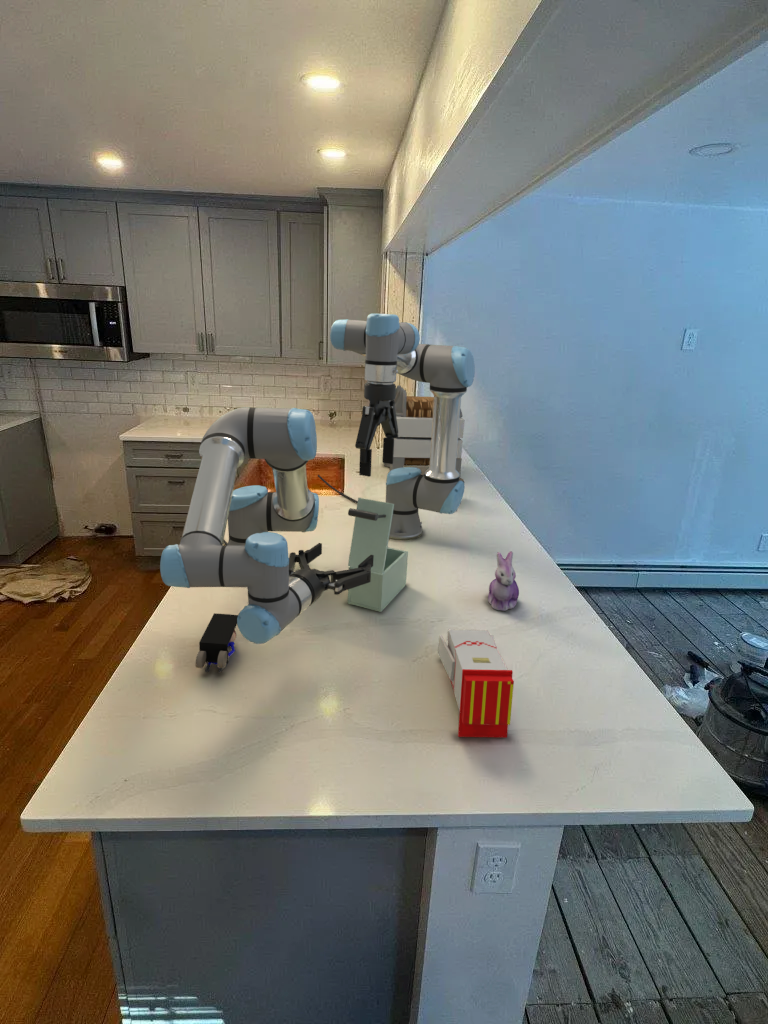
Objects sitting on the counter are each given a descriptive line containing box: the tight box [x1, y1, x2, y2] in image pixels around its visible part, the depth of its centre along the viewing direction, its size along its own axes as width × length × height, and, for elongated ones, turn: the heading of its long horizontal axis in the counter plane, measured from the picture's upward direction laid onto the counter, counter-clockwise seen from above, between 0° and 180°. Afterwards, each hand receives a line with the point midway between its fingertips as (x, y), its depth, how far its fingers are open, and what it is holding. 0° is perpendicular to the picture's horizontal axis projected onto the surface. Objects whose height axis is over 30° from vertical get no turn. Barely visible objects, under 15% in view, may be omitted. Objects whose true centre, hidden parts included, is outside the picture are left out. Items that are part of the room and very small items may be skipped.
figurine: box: [487, 550, 520, 612], centre depth 153 cm, size 9×10×15 cm
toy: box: [437, 628, 515, 738], centre depth 117 cm, size 12×13×30 cm
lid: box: [347, 497, 394, 574], centre depth 142 cm, size 18×10×8 cm
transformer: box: [383, 384, 465, 478], centre depth 268 cm, size 34×33×41 cm
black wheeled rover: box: [195, 612, 239, 673], centre depth 125 cm, size 7×8×15 cm
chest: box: [347, 546, 409, 613], centre depth 156 cm, size 18×10×11 cm, turn 156°
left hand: (345, 554), depth 133 cm, fingers open, 13 cm apart
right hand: (376, 469), depth 142 cm, fingers open, 13 cm apart
